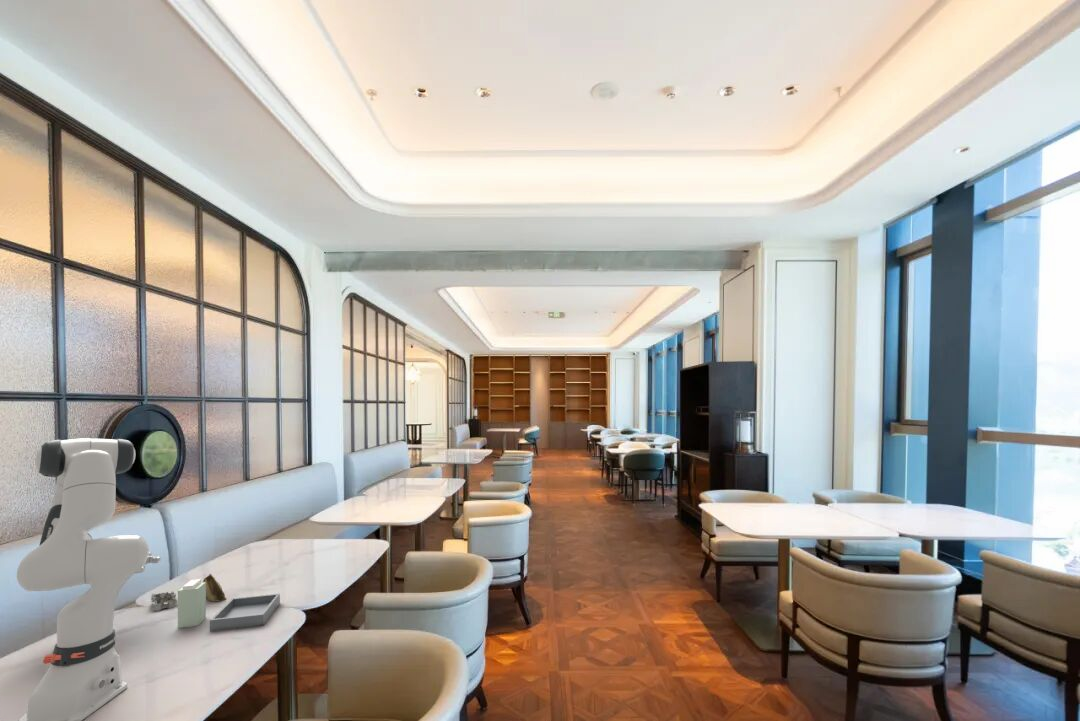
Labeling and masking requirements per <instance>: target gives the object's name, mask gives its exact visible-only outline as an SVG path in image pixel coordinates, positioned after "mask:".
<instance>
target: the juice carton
mask: <svg viewBox="0 0 1080 721" xmlns="http://www.w3.org/2000/svg"><path fill="white" fill-rule="evenodd" d="M202 582H203V581H202V578H198V579H197V578H196V579H191V580H190V581H188V582H187V583H185V584H184V585H183V586H182V587H181V588H180V589H178V590H177V628H178V629H179V628H180V629H181V628H188V627H196V626H197V627H198V626H199V625H200V624H201V623H202V622H203V621H204V620H205V619H206V618H207V598H206V582H203V583H202Z"/></svg>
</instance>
